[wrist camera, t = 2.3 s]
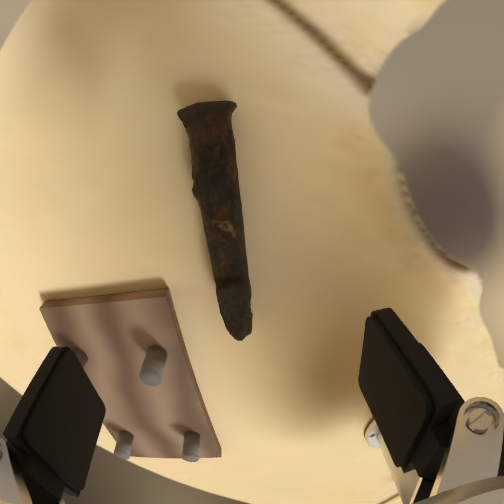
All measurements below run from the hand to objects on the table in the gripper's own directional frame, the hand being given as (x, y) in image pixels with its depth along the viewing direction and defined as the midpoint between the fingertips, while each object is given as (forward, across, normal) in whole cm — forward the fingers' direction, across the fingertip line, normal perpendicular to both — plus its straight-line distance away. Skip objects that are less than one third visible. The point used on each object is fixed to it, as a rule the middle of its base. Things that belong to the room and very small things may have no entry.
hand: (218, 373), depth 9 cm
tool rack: (+17, +13, +18) cm, 28 cm away
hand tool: (+17, -1, 0) cm, 17 cm away
